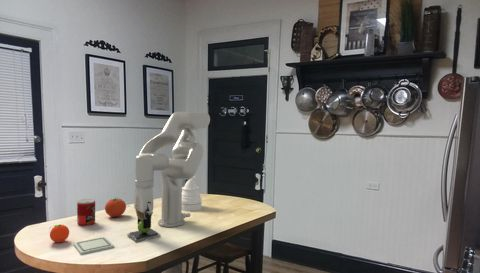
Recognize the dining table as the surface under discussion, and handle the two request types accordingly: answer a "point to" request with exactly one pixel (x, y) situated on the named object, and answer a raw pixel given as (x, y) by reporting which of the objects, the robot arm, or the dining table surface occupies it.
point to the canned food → (86, 212)
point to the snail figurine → (141, 217)
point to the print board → (93, 245)
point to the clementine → (59, 233)
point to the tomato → (115, 207)
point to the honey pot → (191, 196)
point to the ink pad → (143, 235)
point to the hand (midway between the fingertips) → (144, 225)
